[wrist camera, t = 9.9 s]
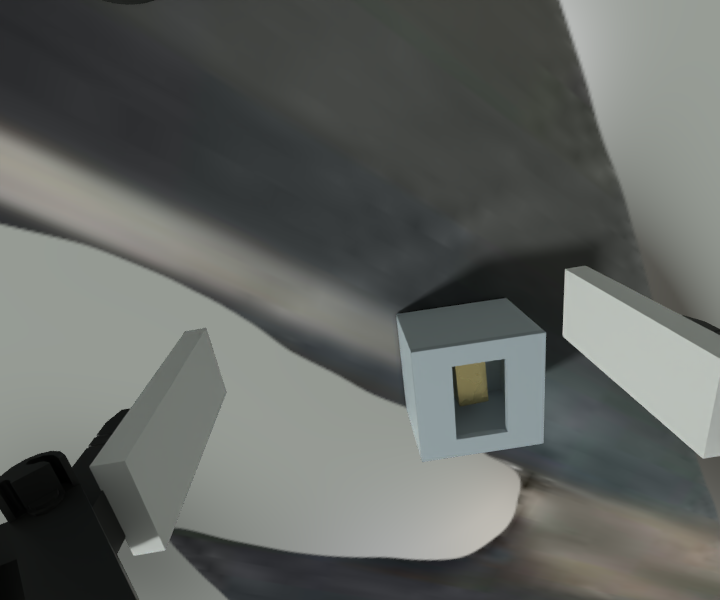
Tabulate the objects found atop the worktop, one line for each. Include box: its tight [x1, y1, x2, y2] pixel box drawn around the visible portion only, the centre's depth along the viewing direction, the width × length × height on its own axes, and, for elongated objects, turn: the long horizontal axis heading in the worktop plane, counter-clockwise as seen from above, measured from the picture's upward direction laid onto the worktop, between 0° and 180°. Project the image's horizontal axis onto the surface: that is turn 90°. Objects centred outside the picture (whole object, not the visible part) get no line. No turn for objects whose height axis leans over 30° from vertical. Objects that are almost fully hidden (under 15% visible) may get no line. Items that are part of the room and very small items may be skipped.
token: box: [452, 362, 489, 407], centre depth 45 cm, size 5×3×5 cm, turn 10°
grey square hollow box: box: [396, 298, 546, 462], centre depth 44 cm, size 12×12×9 cm
